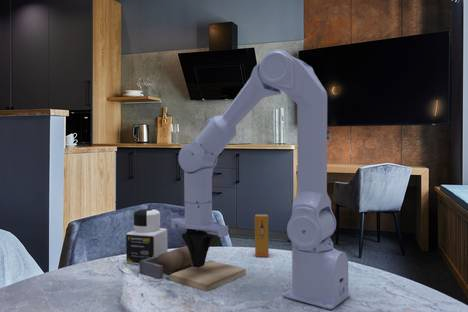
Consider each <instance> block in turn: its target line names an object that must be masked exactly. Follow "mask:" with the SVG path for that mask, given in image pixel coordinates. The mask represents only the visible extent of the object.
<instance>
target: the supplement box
mask: <svg viewBox="0 0 468 312" xmlns="http://www.w3.org/2000/svg"><path fill="white" fill-rule="evenodd" d="M254 243H255V245H254V246H255V247H254V248H255V249H254V252H255V253H254V255H255V257H257V258H259V257H260V258H261V257H262V258H263V257H264V258H268V257H269V252H270V251H269V247H270V246H269V215H268V214H267V213H266V214H255V216H254Z"/></svg>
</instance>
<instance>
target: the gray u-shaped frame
mask: <svg viewBox="0 0 468 312" xmlns="http://www.w3.org/2000/svg"><path fill="white" fill-rule="evenodd" d="M158 256H159V255H158ZM158 256H155V257H151V258H148V259H144V260H141V261H139V264H138V265H139V274H143V275H146V276H149V277H152V278H155V279H159V280H160V279H164V274H163V266H162V265H158V264H157V258H158Z"/></svg>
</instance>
